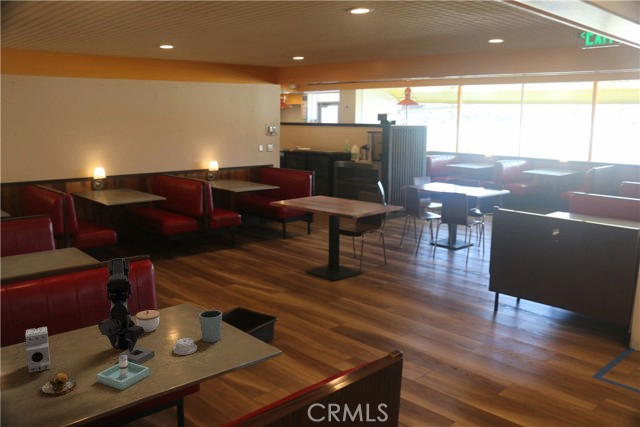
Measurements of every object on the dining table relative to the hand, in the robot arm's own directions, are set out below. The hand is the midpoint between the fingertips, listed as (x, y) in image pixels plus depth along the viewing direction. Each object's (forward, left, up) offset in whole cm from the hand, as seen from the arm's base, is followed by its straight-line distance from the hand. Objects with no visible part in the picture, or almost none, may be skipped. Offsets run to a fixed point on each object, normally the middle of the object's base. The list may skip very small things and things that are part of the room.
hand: (122, 349), depth 205 cm
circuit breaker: (-35, -11, -12) cm, 39 cm away
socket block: (-9, +15, -12) cm, 21 cm away
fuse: (0, 0, -11) cm, 11 cm away
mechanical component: (+3, +31, -12) cm, 33 cm away
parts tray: (0, 0, -12) cm, 12 cm away
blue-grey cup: (+5, +46, -12) cm, 48 cm away
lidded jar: (-28, +40, -12) cm, 50 cm away
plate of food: (-15, -17, -12) cm, 26 cm away
